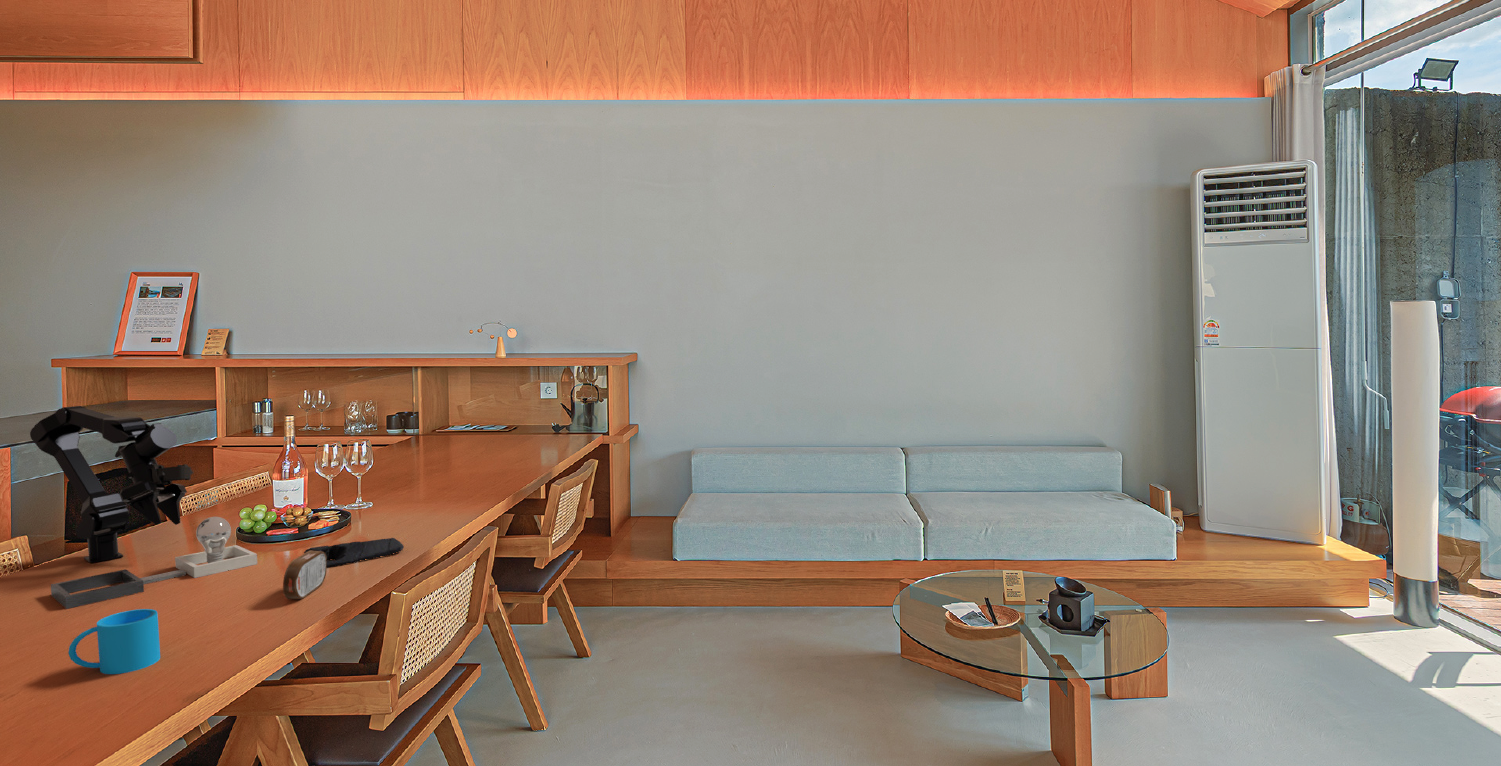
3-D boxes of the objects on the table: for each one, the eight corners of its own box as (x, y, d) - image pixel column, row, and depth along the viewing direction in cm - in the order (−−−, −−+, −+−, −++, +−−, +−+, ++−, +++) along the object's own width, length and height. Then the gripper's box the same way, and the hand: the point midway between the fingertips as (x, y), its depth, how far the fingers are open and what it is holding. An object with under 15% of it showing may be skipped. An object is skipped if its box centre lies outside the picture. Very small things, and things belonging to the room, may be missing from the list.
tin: (316, 581, 177) (314, 545, 176) (330, 581, 177) (328, 544, 176) (282, 605, 162) (280, 565, 161) (298, 605, 162) (296, 565, 161)
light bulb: (231, 567, 187) (229, 518, 186) (195, 572, 184) (193, 522, 183) (233, 559, 193) (231, 512, 192) (199, 563, 190) (197, 515, 189)
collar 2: (175, 567, 188) (175, 557, 188) (237, 554, 198) (236, 544, 198) (194, 577, 180) (193, 567, 180) (257, 564, 190) (256, 554, 190)
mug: (161, 650, 140) (158, 605, 139) (159, 666, 133) (156, 619, 133) (73, 667, 133) (70, 620, 132) (66, 685, 126) (62, 636, 126)
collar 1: (51, 595, 168) (50, 584, 168) (126, 579, 179) (125, 569, 178) (66, 608, 160) (65, 596, 160) (143, 591, 171) (143, 580, 170)
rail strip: (134, 582, 177) (134, 579, 177) (181, 572, 184) (181, 569, 184) (138, 585, 175) (138, 581, 175) (186, 575, 182) (185, 571, 182)
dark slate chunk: (408, 557, 196) (407, 538, 196) (308, 573, 184) (307, 553, 184) (396, 543, 209) (396, 526, 209) (302, 557, 197) (301, 539, 196)
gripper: (158, 447, 183) (185, 507, 182) (195, 454, 201) (220, 509, 200) (106, 469, 180) (133, 530, 179) (149, 473, 198) (174, 529, 197)
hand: (168, 523), depth 188 cm, fingers open, 9 cm apart
